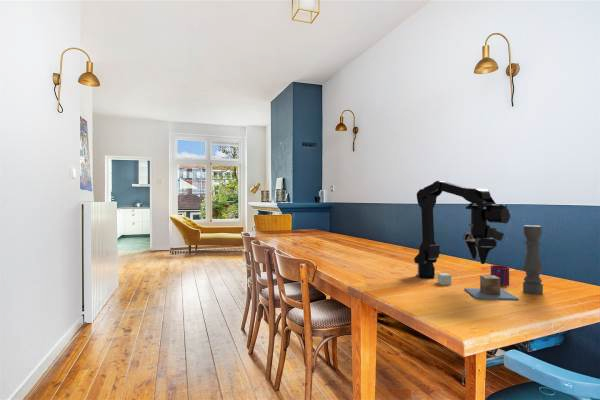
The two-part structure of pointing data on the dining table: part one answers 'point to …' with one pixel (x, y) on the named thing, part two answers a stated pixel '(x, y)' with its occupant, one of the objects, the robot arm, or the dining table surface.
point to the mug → (501, 273)
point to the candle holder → (532, 260)
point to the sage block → (444, 279)
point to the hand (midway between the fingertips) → (478, 261)
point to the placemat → (479, 295)
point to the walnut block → (490, 285)
